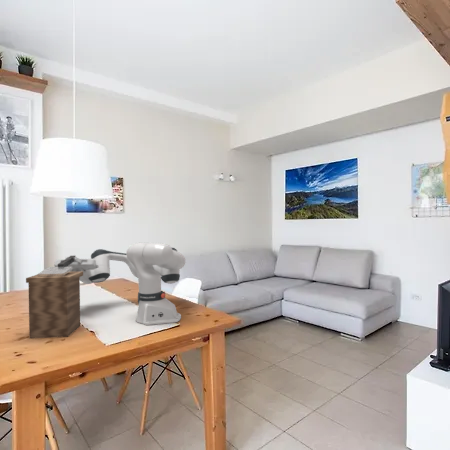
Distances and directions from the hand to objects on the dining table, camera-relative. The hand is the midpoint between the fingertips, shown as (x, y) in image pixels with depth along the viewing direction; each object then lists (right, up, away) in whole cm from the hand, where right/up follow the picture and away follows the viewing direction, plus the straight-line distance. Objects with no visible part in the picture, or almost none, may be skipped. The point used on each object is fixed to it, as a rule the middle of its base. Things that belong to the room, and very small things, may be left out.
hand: (70, 258), depth 159 cm
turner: (+1, -3, -9) cm, 10 cm away
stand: (+2, -32, -16) cm, 35 cm away
